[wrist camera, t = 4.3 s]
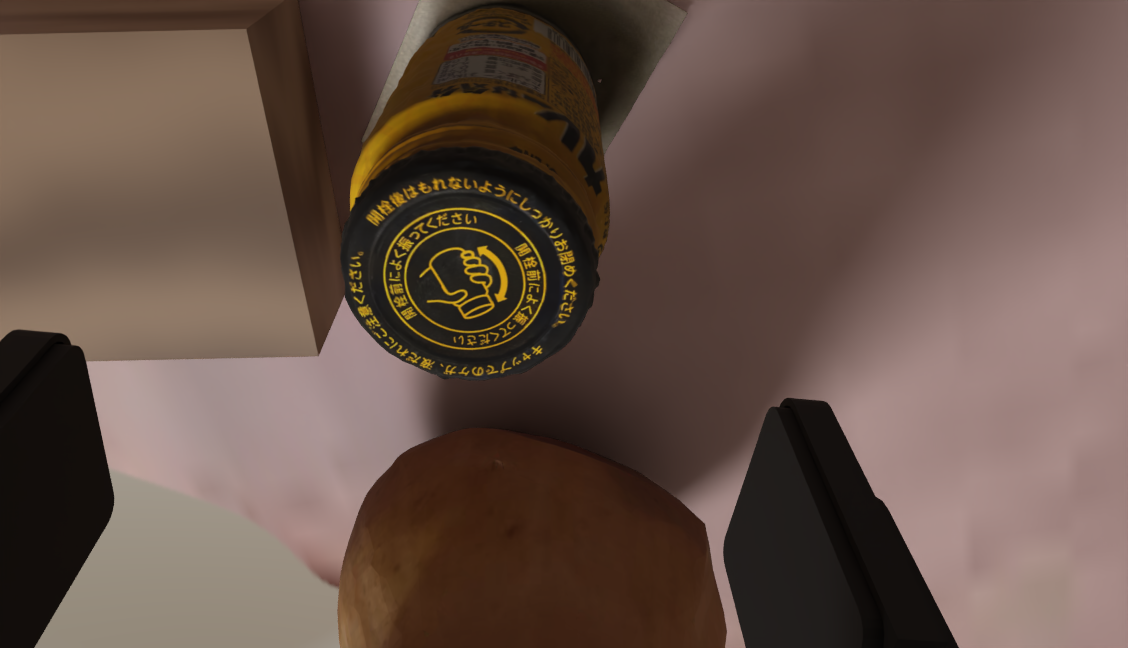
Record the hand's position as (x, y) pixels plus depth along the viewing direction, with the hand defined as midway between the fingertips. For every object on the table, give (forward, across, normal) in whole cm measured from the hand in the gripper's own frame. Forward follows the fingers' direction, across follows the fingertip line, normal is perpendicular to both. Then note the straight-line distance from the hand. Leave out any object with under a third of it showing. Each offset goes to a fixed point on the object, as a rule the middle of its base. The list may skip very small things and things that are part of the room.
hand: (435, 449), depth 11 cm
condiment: (+18, -1, 0) cm, 18 cm away
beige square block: (+18, +10, +4) cm, 21 cm away
